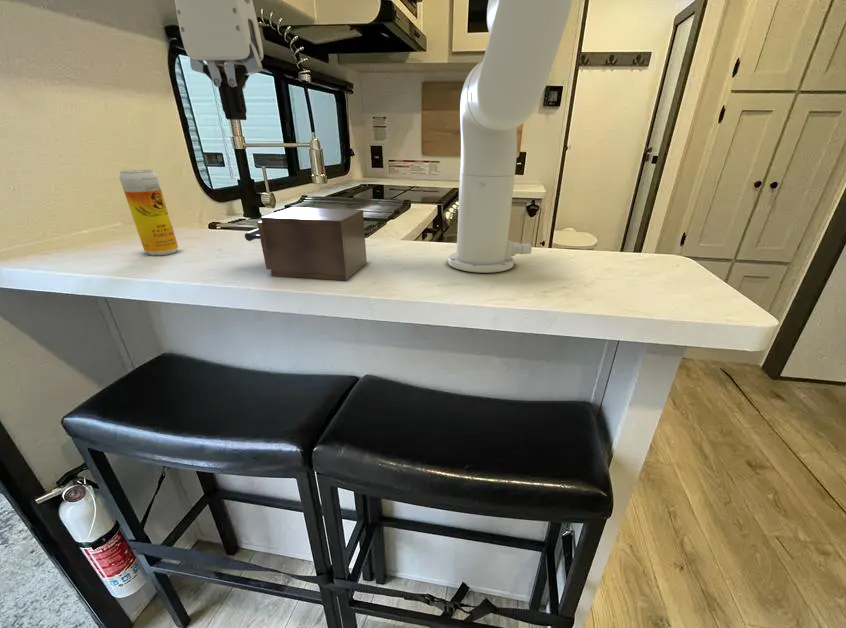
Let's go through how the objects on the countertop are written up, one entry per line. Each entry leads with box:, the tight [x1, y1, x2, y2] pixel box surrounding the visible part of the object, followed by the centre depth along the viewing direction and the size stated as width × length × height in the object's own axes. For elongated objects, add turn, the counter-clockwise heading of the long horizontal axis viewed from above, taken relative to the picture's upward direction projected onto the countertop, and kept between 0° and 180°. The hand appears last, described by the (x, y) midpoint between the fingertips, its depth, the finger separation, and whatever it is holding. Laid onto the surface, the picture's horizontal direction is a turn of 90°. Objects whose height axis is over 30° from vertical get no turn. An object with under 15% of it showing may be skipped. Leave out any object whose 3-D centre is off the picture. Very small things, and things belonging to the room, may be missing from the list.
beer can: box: [119, 169, 179, 256], centre depth 81 cm, size 6×6×15 cm
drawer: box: [244, 220, 271, 271], centre depth 74 cm, size 17×10×8 cm, turn 80°
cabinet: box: [260, 206, 368, 282], centre depth 73 cm, size 14×12×10 cm
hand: (236, 119), depth 64 cm, fingers closed
